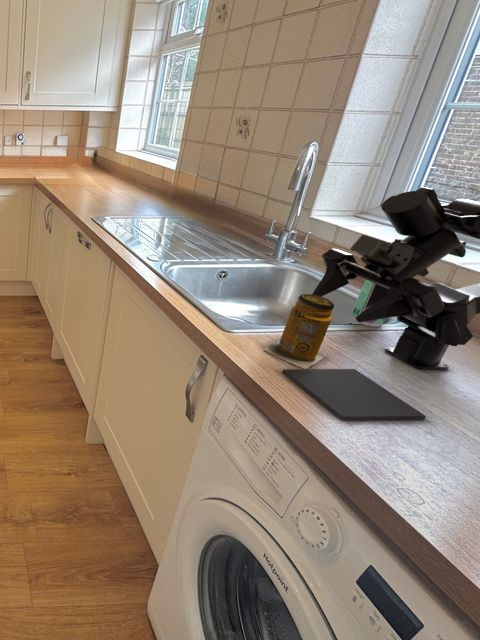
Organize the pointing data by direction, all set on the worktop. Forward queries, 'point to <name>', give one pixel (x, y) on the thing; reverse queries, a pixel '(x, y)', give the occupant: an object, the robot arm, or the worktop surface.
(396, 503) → the worktop surface
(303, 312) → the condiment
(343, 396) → the mat
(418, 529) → the worktop surface
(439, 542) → the worktop surface
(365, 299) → the spray can
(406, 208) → the robot arm
